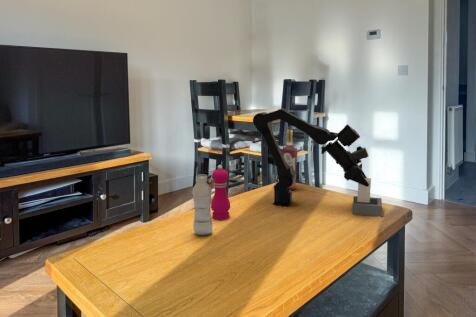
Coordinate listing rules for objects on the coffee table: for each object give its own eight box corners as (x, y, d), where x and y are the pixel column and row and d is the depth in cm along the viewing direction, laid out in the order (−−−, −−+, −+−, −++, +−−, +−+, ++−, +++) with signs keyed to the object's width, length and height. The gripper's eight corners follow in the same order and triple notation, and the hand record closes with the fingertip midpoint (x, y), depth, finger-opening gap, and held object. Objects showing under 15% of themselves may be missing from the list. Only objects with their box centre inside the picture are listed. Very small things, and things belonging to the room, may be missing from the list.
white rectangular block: (357, 201, 151) (358, 180, 149) (357, 198, 155) (358, 177, 153) (369, 202, 149) (370, 181, 148) (369, 199, 153) (370, 178, 152)
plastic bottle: (197, 239, 127) (195, 178, 123) (190, 231, 133) (188, 174, 129) (215, 235, 129) (214, 176, 125) (208, 228, 135) (207, 172, 131)
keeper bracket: (352, 214, 149) (352, 203, 148) (353, 205, 159) (353, 196, 158) (381, 216, 146) (382, 206, 145) (380, 207, 156) (381, 198, 155)
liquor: (298, 188, 186) (299, 129, 180) (294, 192, 179) (295, 131, 174) (283, 186, 189) (284, 128, 183) (279, 190, 182) (279, 130, 177)
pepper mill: (207, 217, 147) (205, 165, 143) (220, 212, 152) (220, 162, 148) (220, 221, 142) (219, 168, 138) (234, 216, 147) (233, 164, 143)
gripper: (355, 144, 140) (386, 176, 139) (356, 137, 157) (384, 165, 156) (331, 164, 144) (361, 196, 143) (335, 155, 161) (362, 183, 160)
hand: (368, 184), depth 150 cm, fingers closed on white rectangular block, 4 cm apart
